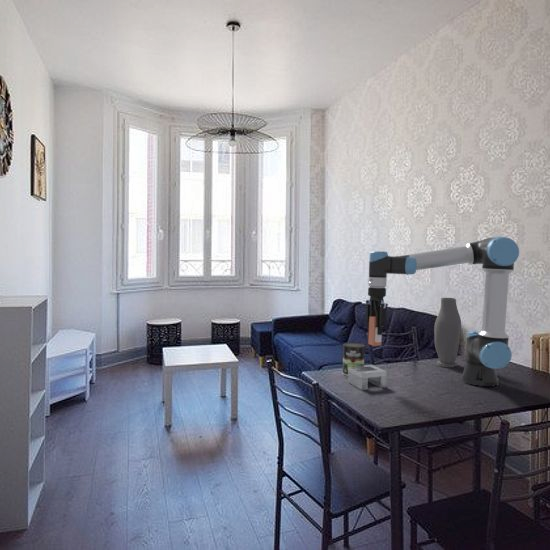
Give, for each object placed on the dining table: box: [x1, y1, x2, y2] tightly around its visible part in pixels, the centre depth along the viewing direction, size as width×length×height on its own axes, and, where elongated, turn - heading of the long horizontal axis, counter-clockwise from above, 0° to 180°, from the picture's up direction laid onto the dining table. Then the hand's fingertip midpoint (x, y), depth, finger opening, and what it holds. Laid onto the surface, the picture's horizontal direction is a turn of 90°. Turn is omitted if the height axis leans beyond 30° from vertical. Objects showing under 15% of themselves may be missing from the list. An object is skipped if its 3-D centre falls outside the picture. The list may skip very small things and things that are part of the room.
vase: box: [433, 297, 462, 368], centre depth 227 cm, size 13×13×35 cm
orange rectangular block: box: [368, 316, 383, 347], centre depth 190 cm, size 4×4×12 cm
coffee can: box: [342, 342, 366, 377], centre depth 210 cm, size 10×10×14 cm
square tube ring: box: [347, 364, 388, 391], centre depth 193 cm, size 12×12×7 cm
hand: (374, 340), depth 191 cm, fingers closed on orange rectangular block, 4 cm apart
